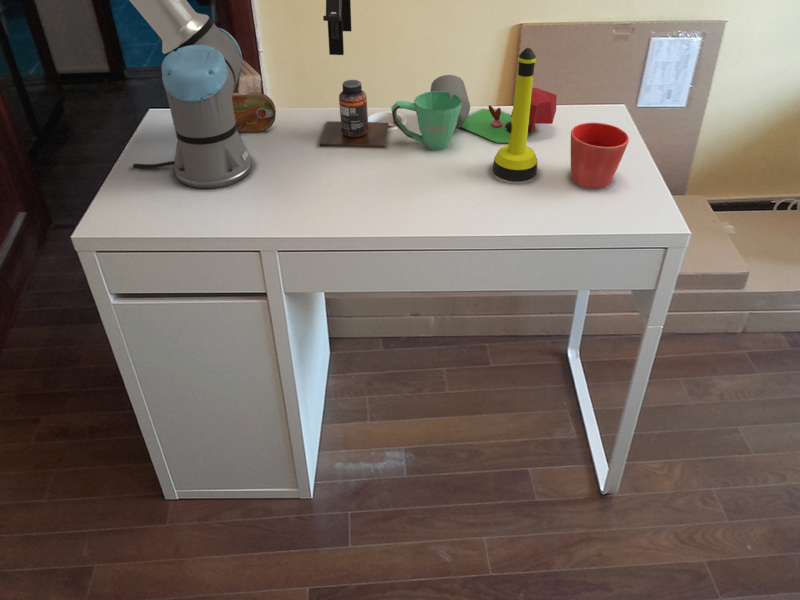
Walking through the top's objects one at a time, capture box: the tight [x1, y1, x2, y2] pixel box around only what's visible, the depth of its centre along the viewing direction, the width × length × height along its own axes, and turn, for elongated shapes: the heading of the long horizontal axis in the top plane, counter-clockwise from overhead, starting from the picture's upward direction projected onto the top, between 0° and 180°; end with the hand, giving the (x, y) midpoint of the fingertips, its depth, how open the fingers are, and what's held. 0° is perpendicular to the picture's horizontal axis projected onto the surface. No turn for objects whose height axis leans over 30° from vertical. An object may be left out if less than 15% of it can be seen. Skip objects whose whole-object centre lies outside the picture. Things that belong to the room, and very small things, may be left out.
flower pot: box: [570, 122, 630, 190], centre depth 133 cm, size 11×11×10 cm
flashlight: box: [491, 47, 538, 185], centre depth 131 cm, size 25×9×9 cm
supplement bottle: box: [338, 79, 369, 138], centre depth 148 cm, size 6×6×11 cm
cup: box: [429, 74, 471, 130], centre depth 152 cm, size 10×9×10 cm
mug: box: [390, 91, 462, 151], centre depth 145 cm, size 15×10×10 cm
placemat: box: [319, 120, 389, 148], centre depth 152 cm, size 14×11×1 cm
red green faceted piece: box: [459, 87, 558, 144], centre depth 151 cm, size 15×20×9 cm
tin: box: [232, 91, 277, 133], centre depth 152 cm, size 15×3×8 cm, turn 92°
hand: (340, 42), depth 138 cm, fingers open, 13 cm apart
